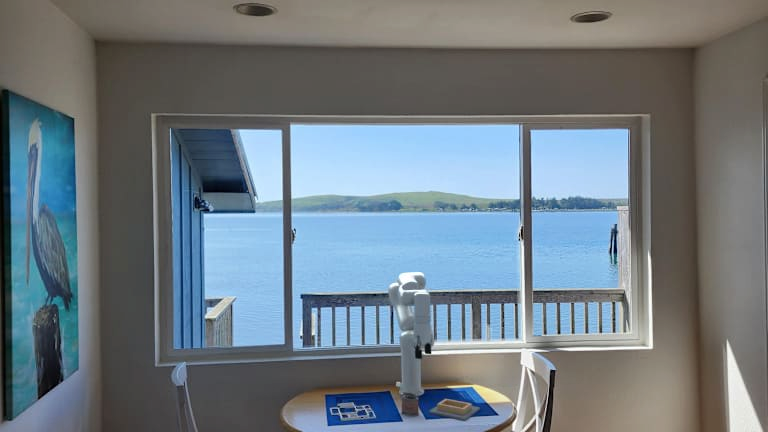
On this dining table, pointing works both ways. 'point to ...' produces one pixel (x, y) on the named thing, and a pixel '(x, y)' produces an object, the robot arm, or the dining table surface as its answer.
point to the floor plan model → (355, 416)
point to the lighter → (410, 404)
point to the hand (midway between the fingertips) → (423, 356)
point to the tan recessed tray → (454, 409)
